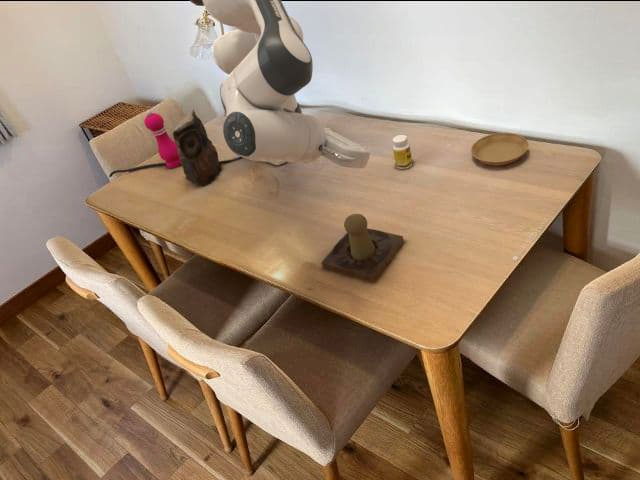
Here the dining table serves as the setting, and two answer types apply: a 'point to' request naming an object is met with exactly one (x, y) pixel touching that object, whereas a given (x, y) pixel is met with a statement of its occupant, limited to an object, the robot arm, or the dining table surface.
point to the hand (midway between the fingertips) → (347, 141)
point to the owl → (196, 150)
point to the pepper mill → (162, 139)
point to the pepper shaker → (359, 237)
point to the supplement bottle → (402, 152)
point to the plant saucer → (499, 148)
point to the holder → (367, 267)
